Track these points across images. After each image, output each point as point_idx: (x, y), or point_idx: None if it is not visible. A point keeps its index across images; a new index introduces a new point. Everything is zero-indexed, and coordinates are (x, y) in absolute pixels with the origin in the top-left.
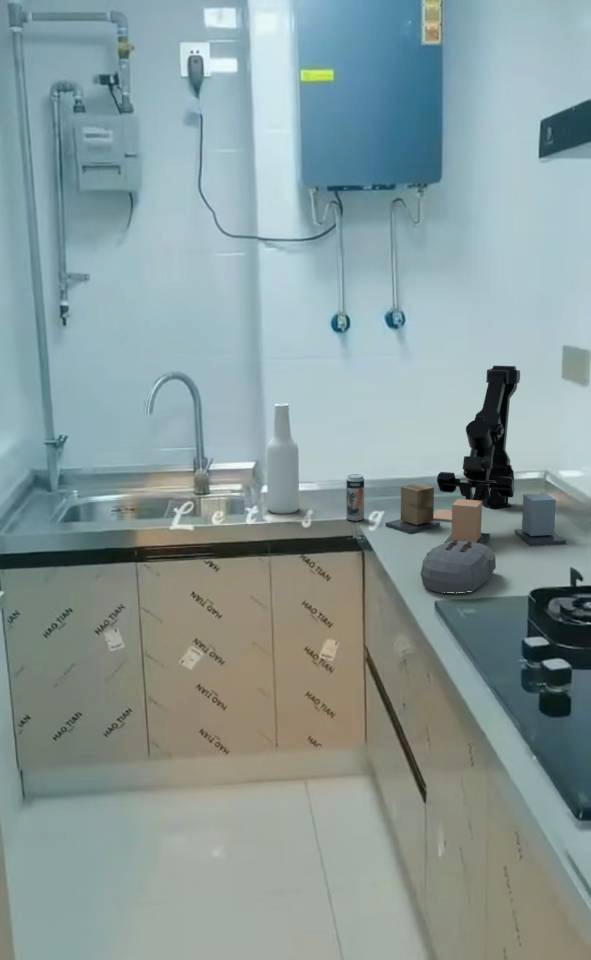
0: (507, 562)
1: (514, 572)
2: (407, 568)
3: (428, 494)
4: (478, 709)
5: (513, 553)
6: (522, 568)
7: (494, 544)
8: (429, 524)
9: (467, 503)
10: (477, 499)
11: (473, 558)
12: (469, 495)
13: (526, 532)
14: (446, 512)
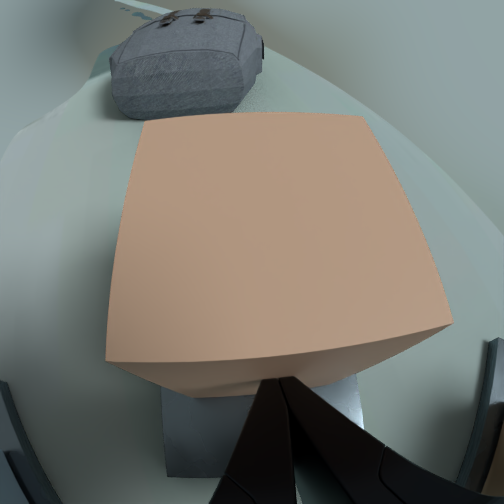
0: (78, 190)
1: (73, 142)
2: (313, 92)
3: None
4: (147, 4)
5: (53, 277)
6: (50, 170)
7: (125, 371)
8: (480, 455)
9: (261, 173)
10: (218, 493)
11: (153, 19)
12: (372, 496)
13: (23, 495)
14: None
